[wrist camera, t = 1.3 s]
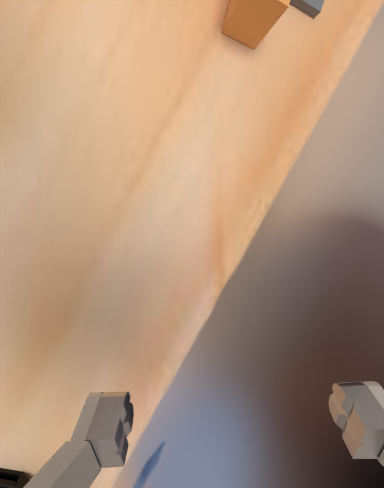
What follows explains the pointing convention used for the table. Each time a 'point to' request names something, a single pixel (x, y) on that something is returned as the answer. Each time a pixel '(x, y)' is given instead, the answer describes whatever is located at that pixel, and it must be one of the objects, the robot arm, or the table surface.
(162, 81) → the table surface
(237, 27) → the orange toy brick
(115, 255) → the table surface
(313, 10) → the mounting plate
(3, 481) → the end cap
